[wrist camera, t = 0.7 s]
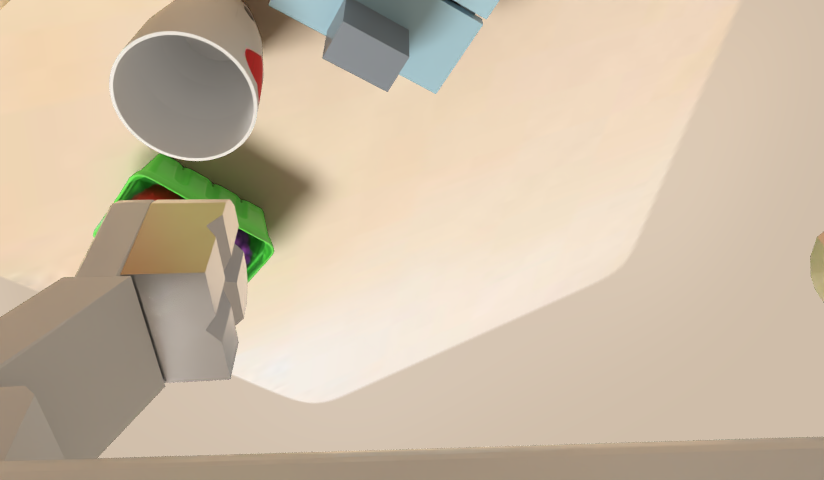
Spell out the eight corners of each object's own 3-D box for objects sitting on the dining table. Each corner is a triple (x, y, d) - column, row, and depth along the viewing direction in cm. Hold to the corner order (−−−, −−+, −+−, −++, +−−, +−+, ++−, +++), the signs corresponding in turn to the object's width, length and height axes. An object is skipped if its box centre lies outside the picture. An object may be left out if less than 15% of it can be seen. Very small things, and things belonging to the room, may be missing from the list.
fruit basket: (286, 207, 60) (268, 307, 51) (230, 273, 64) (203, 376, 55) (153, 130, 55) (108, 226, 46) (102, 207, 59) (51, 308, 51)
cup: (258, 98, 53) (234, 178, 46) (142, 55, 51) (97, 132, 44) (295, -5, 49) (275, 65, 41) (169, -57, 47) (124, 7, 39)
